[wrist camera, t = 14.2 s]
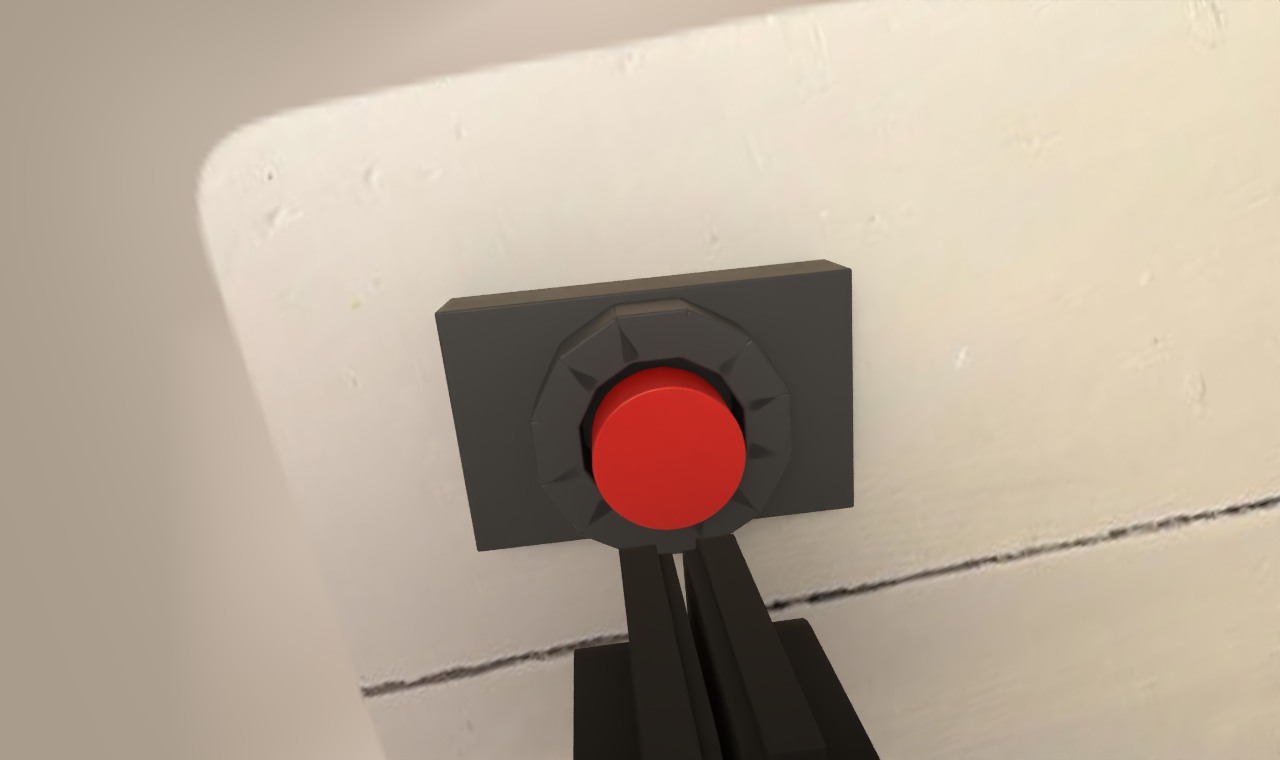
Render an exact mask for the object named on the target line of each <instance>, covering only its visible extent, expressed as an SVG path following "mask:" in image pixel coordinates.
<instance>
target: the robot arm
mask: <svg viewBox="0 0 1280 760" xmlns="http://www.w3.org/2000/svg"><path fill="white" fill-rule="evenodd" d="M619 555H620V564H621V572H622V581H623V590H624V599H625V607H626V616H627V625H628V634H629V642H625V643H617V644H610V645H603V646H596V647H588V648H581V649H575V651H574V746H573V760H880V758H879V756H878V754H877V752H876V751H875V749H874V747H873V745H872V743H871V741H870V739H869V737H868V735H867V733H866V731H865V729H864V727H863V725H862V724H861V722H860V720H859V718H858V716H857V714H856V712H855V710H854V708H853V706H852V704H851V702H850V700H849V698H848V697H847V695H846V693H845V691H844V689H843V687H842V685H841V683H840V681H839V679H838V677H837V675H836V673H835V672H834V670H833V668H832V666H831V664H830V662H829V660H828V658H827V656H826V654H825V652H824V650H823V648H822V646H821V645H820V643H819V641H818V639H817V637H816V635H815V633H814V631H813V629H812V627H811V626H810V624H809V623H808V621H807V620H806V619H804V618H799V619H792V620H784V621H777V622H772V621H771V618H770V616H769V614H768V612H767V609H766V607H765V605H764V602H763V600H762V598H761V596H760V593H759V591H758V589H757V586H756V584H755V582H754V580H753V577H752V575H751V573H750V570H749V568H748V566H747V564H746V561H745V559H744V557H743V554H742V552H741V550H740V548H739V545H738V543H737V541H736V538H735V536H734V535H733V534H728V535H720V536H712V537H705V538H697V539H696V540H695V549H690V550H683V567H684V578H685V590H686V601H687V611H686V607H685V603H684V599H683V595H682V591H681V587H680V583H679V579H678V575H677V571H676V567H675V563H674V559H673V556H672V552H668V553H660V554H658V552H657V548H656V544H651V545H643V546H636V547H628V548H620V549H619ZM687 613H688V615H687Z"/></svg>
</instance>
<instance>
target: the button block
mask: <svg viewBox="0 0 1280 760" xmlns="http://www.w3.org/2000/svg"><path fill="white" fill-rule="evenodd" d="M435 319H436V324H437V330H438V335H439V341H440V346H441V352H442V357H443V363H444V368H445V374H446V380H447V385H448V391H449V396H450V402H451V407H452V413H453V418H454V424H455V429H456V435H457V440H458V446H459V452H460V457H461V463H462V468H463V474H464V479H465V485H466V490H467V496H468V501H469V507H470V512H471V518H472V523H473V529H474V535H475V540H476V546H477V550H478V551H479V552H480V551H489V550H497V549H506V548H514V547H522V546H531V545H539V544H548V543H556V542H564V541H573V540H581V539H593V540H596V541H598V542H601V543H604V544H606V545H609V546H612V547H614V548H617V549H620V548H628V547H636V546H643V545H651V544H656V548H657V552H658V554H660V553H668V552H672V554H677V553H683V550H690V549H695V540H696V539H697V538H705V537H712V536H720V535H728V534H731V533H732V532H734V531H735V530H737V529H738V528H740V527H741V526H743V525H744V524H746V523H747V522H749V521H750V520H752V519H758V518H766V517H775V516H783V515H792V514H800V513H808V512H817V511H825V510H834V509H842V508H850V507H853V506H854V469H853V365H852V270H851V269H850V268H847V267H844V266H841V265H839V264H836V263H833V262H830V261H827V260H814V261H805V262H795V263H786V264H776V265H767V266H757V267H748V268H738V269H729V270H719V271H709V272H700V273H690V274H681V275H671V276H662V277H652V278H643V279H633V280H624V281H614V282H605V283H595V284H586V285H576V286H567V287H557V288H548V289H538V290H529V291H519V292H510V293H500V294H491V295H481V296H472V297H462V298H453V299H450V300H449V301H448V302H447V303H446V304H445V305H444V306H442V307H441V308H440V309H439V310H438V311H437V312H436V313H435ZM656 367H672V368H678V369H683V370H686V371H689V372H692V373H694V374H696V375H698V376H700V377H702V378H703V379H705V380H706V381H708V382H709V383H710V384H711V385H712V386H713V387H714V388H715V389H716V390H717V391H718V392H719V393H720V395H721V396H722V398H723V399H724V401H725V403H726V404H727V406H728V408H729V409H730V411H731V413H732V414H733V416H734V418H735V419H736V421H737V423H738V425H739V427H740V429H741V432H742V434H743V438H744V442H745V449H746V461H745V468H744V472H743V475H742V479H741V481H740V483H739V485H738V488H737V489H736V491H735V493H734V494H733V496H732V497H731V498H730V500H729V501H728V502H727V503H726V504H725V505H724V506H723V507H722V508H721V509H720V510H719V511H718V512H716V513H715V514H714V515H712V516H711V517H709V518H707V519H706V520H704V521H702V522H700V523H697V524H695V525H692V526H689V527H685V528H680V529H671V530H662V529H653V528H647V527H644V526H641V525H638V524H635V523H633V522H631V521H629V520H627V519H626V518H624V517H622V516H621V515H619V514H618V513H617V512H616V511H615V510H613V509H612V507H611V506H610V505H609V504H608V503H607V502H606V501H605V499H604V498H603V496H602V495H601V493H600V491H599V489H598V487H597V484H596V481H595V479H594V474H593V469H592V427H593V422H594V417H595V415H596V412H597V409H598V407H599V405H600V404H601V402H602V400H603V399H604V397H605V396H606V395H607V393H608V392H609V391H610V390H611V389H612V388H613V387H614V386H615V385H617V384H618V383H619V382H620V381H622V380H623V379H625V378H626V377H628V376H630V375H632V374H634V373H637V372H639V371H642V370H646V369H650V368H656Z"/></svg>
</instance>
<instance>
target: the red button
mask: <svg viewBox="0 0 1280 760" xmlns="http://www.w3.org/2000/svg"><path fill="white" fill-rule="evenodd" d="M745 461H746V449H745V442H744V438H743V434H742V432H741V429H740V427H739V425H738V423H737V421H736V419H735V418H734V416H733V414H732V413H731V411H730V409H729V408H728V406H727V404H726V403H725V401H724V399H723V398H722V396H721V395H720V393H719V392H718V391H717V390H716V389H715V388H714V387H713V386H712V385H711V384H710V383H709V382H708V381H706V380H705V379H703V378H702V377H700V376H698V375H696V374H694V373H692V372H689V371H686V370H683V369H678V368H672V367H656V368H650V369H646V370H642V371H639V372H637V373H634V374H632V375H630V376H628V377H626V378H625V379H623V380H622V381H620V382H619V383H618V384H617V385H615V386H614V387H613V388H612V389H611V390H610V391H609V392H608V393H607V395H606V396H605V397H604V399H603V400H602V402H601V404H600V405H599V407H598V409H597V412H596V415H595V417H594V422H593V427H592V469H593V474H594V479H595V481H596V484H597V487H598V489H599V491H600V493H601V495H602V496H603V498H604V499H605V501H606V502H607V503H608V504H609V505H610V506H611V507H612V509H613V510H615V511H616V512H617V513H618V514H619V515H621V516H622V517H624V518H626V519H627V520H629V521H631V522H633V523H635V524H638V525H641V526H644V527H647V528H653V529H662V530H671V529H680V528H685V527H689V526H692V525H695V524H697V523H700V522H702V521H704V520H706V519H707V518H709V517H711V516H712V515H714V514H715V513H716V512H718V511H719V510H720V509H721V508H722V507H723V506H724V505H725V504H726V503H727V502H728V501H729V500H730V498H731V497H732V496H733V494H734V493H735V491H736V489H737V488H738V485H739V483H740V481H741V479H742V475H743V472H744V468H745Z"/></svg>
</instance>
